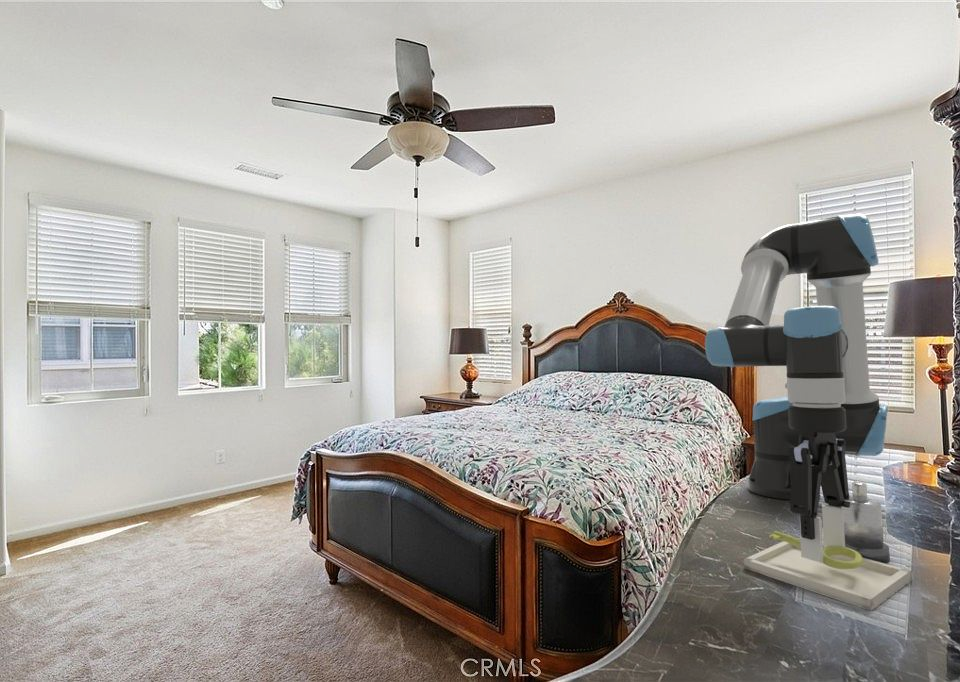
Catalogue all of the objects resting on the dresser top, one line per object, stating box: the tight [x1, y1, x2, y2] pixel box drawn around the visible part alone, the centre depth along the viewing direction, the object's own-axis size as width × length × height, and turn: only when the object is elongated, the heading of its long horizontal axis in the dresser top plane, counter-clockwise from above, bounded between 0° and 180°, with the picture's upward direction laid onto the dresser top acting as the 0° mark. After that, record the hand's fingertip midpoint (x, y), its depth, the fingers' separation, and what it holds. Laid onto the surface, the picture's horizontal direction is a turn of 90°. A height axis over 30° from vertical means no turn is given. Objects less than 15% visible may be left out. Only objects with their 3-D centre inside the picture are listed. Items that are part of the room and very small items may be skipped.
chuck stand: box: [841, 481, 891, 564], centre depth 85 cm, size 7×7×12 cm
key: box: [768, 530, 863, 569], centre depth 78 cm, size 7×12×2 cm, turn 53°
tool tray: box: [743, 541, 913, 612], centre depth 78 cm, size 15×17×2 cm
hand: (823, 553), depth 78 cm, fingers closed on key, 7 cm apart
